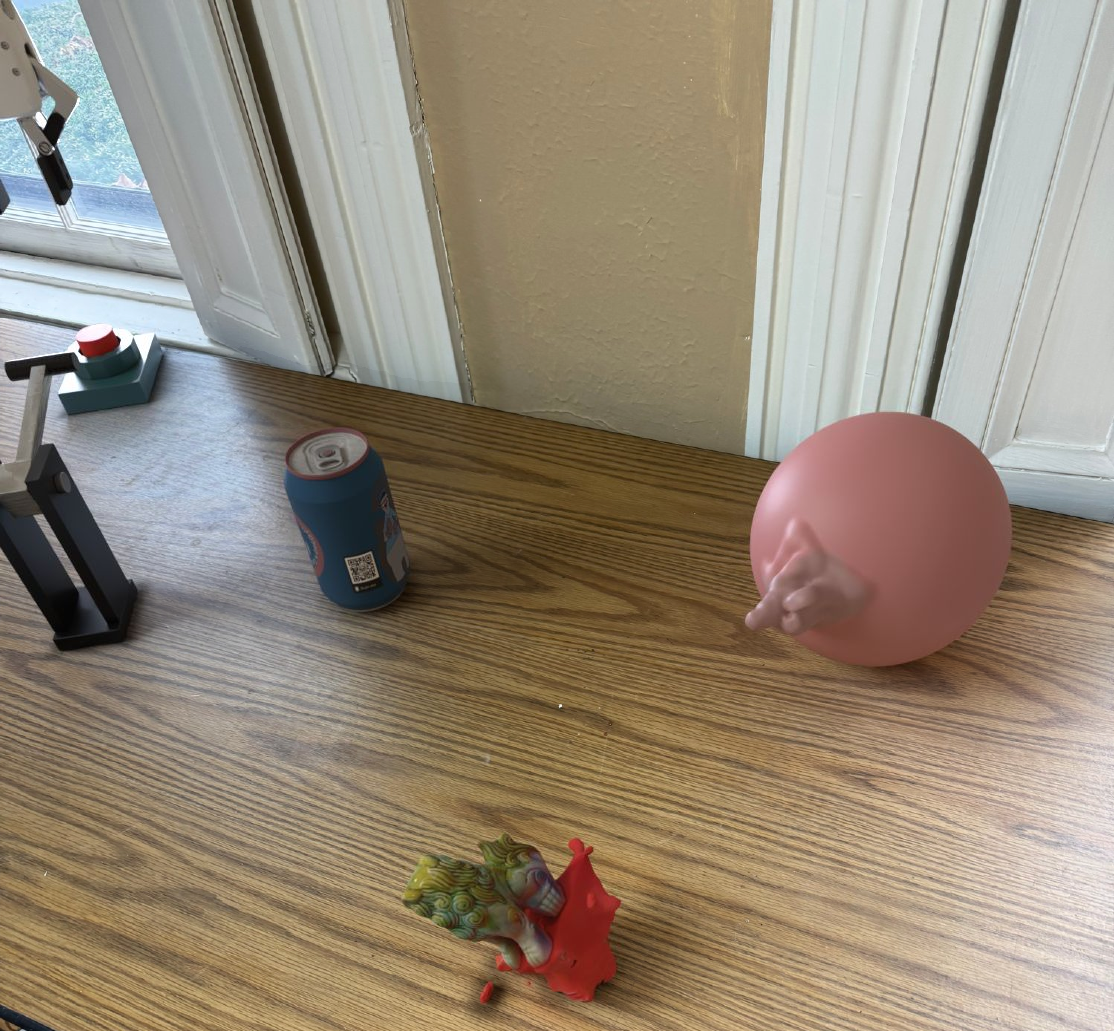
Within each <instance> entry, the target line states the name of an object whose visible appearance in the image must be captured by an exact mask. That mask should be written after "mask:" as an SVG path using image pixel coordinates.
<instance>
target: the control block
mask: <svg viewBox="0 0 1114 1031" xmlns="http://www.w3.org/2000/svg"><path fill="white" fill-rule="evenodd" d="M113 330H114V333H115V335H116V337H117V339H118V342H119V346H118V347H117V348H115V349H114V350H113V351H111V352H108V353H105V354H103V355H99V356H93V357H88V356H84V355H83V353H82V351H81V349H80V347H79V345H78V343H77V341H76V340H75V342H72V344H70V345H69V346H68V348H67V350H66V352H69V351H73V352H75V353H76V355H77V357H78V359H79V362H80V371H79V372H73V373H67V374H64V375H65V376H64V378H63V380H62V382H61V385H60V387H59V389H58V392H57V398H59V400H60V403H61V404H62V406H63V409H64V410H65V412H66V414H67V415H75V414H80V413H86V412H93V411H100V410H106V409H112V408H119V407H126V406H127V407H128V406H133V405H138V404H139V405H140V404H145V403H149V399H150V395H151V393H152V389H153V388H154V387H153V386H154V385H155V384H154V383H155V380H156V377H157V374H158V370H159V367H160V363H161V360H162V357H163V354H164V351H163V349H162V346H161V345H160V342H159V339H158V336H157V335H156V333H155V332H151V333H144V334H137V335H133V334H132V333H131V332H130V331H129V330H127V329H121V328H120V329H119V328H113Z"/></svg>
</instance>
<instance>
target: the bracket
mask: <svg viewBox="0 0 1114 1031" xmlns="http://www.w3.org/2000/svg"><path fill="white" fill-rule="evenodd" d="M0 464H3V461H2V460H1V459H0ZM24 483H25V484H26V486H27V488H28V489H29V491H30V493H31V495H32V496H33V498H34V500H35V501H36V503H37V505H38V507H39V508H40V510H41V512H42V513H43V514H42V515H43V517H44V518H45V520H46V522H47V523H48V526H49V527H50V529H51V530H52V532H53V534H54V536H55V537H56V539H57V541H58V543H59V544H60V546H61V547H62V550H63V552H64V553H65V555H66V556H67V558H68V560H69V562H70V563H71V564H72V568H74V570H75V572H76V573H77V575H78V577H79V578H80V580H81V582H82V583H83V585H82V586H76V585H75V583H74V582H73V580H72V578H71V576H70V575H69V573H68V571H67V570H66V568H65V567H64V565H63V563H62V561H61V560H60V558H59V556H58V555H57V553H56V551H55V550H54V548H53V546H52V545H51V543H50V541H49V540H48V537H47V535H46V534H45V532H44V531H43V529H42V528H41V526H40V525H39V524H40V523H39V522H38V520H37V519H36V518H35V515H32V516H26V517H19V518H13V517H12V515H11V514H10V513H9V512H8V510H7V509H6V508H5V507H4V506H3V504H2V503H1V502H0V549H1V551H2V553H3V554H4V556H5V558H6V559H7V561H8V562H9V564H10V565H11V567H12V568H13V570H14V571H15V574H16V575H17V576H18V578H19V579H20V581H21V582H22V584H23V586H24V587H25V589H26V590H27V592H28V593H29V595H30V596H31V598H32V600H33V601H34V603H35V604H36V606H37V607H38V609H39V611H40V612H41V613H42V616H43V617H44V618H45V620H46V622H47V623H48V625H49V626H50V628H51V629H52V631H53V636H52V642H53V643H54V644H55V646H56V648H57V649H58V651H59V652H62V651H68V650H76V649H81V648H83V649H84V648H88V647H95V646H101V645H108V644H114V643H121V642H122V643H123V642H125V641H126V638H127V634H128V630H129V627H130V622H131V618H132V614H133V611H134V607H135V603H136V599H137V595H138V591H139V589H138V588H137V586H136V584H135V582H134V581H133V579H132V578H127V577H126V574H125V573H124V571H123V570H122V567H121V565H120V564H119V561H118V560H117V558H116V556H115V554H114V553H113V551H112V549H111V547H110V545H109V543H108V541H107V540H106V538H105V536H104V534H103V532H102V530H101V528H100V526H99V524H98V523H97V521H96V519H95V518H94V516H93V514H92V512H91V510H90V508H89V506H88V504H87V502H86V501H85V498H84V497H83V495H82V493H81V491H80V490H79V487H78V486H77V484H76V482H75V480H74V479H73V477H72V475H71V473H70V471H69V470H68V467H67V465H66V463H65V462H64V460H63V458H62V456H61V455H60V453H59V451H58V449H57V447H56V446H55V444H54V443H53V442H49V443H44V444H41V445H39V447H38V450H37V452H36V454H35V457H34V459H33V462H32V464H31V466H30V469H29V471H28V474H27V476H26V478H25V481H24Z"/></svg>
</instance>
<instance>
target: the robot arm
mask: <svg viewBox="0 0 1114 1031" xmlns="http://www.w3.org/2000/svg"><path fill="white" fill-rule="evenodd" d="M49 97H50V98H52V99H53V100H54V107H53V109H52V111H51V112H50V114H49V116H48V117H47V115H46V114H45V113H44V111H43V110H42V108H43V101H45V100H47V99H48V98H49ZM79 102H80V96H79V94H78V92H77V91H75V90H74V89H73V88H72V87H70V86H69V85H68V84H67V83H66V82H64V81H63V80H62V79H61V78H59V76H57V75H56V74H55V73H53V72H52V71H51V70H50V69H48V68H47V67H46V66H45V63H44V62H43V59H42V57H41V55H40V52H39V51H38V49H37V47H36V44H35V43H34V41H33V39H32V37H31V35H30V32H29V31H28V28H27V27H26V24H25V22H24V21H23V19H22V17H21V15H20V13H19V11H18V9H17V7H16V6H15V3H14V2H13V0H0V122H7V121H12V120H16V121H17V123H18V124H19V125H20V127H21V128H22V129H23V131H24V132H25V134H26V135H27V136H28V137H29V139H30V140H31V142H32V143H33V145H34V146H35V147H36V148H35V149H36V150H37V153H38V156H37V157H36V163H37V166H38V168H39V169H40V172H41V174H42V176H43V179H44V180H45V183H46V185H47V187H48V189H49V192H50V194H51V197H52V199H53V201H54V202H55V205H58V206H59V207H62V206H66V205H67V204H68V202H69V200H70V198H71V197H72V195H73V191H72V190H73V189H74V183H73V182H74V181H73V178H72V176H71V174H70V171H69V170H68V167H67V165H66V162H65V160H64V158H63V156H62V153H61V151H60V148H59V146H58V144H59V142H60V139H61V137H62V134H63V132H64V130H65V127H66V124H67V123H68V120H69V119H70V117H71V116H72V114H73V112H74V111H75V109H76V107H77V106H78V105H79ZM10 203H11V198H10V195H9V193H8V191H7V189H6V187H5V185H4V183H3V181H2V179H1V178H0V216H2V215H3V214H4V213H5V211H6V210H7V209H8V207H9V205H10Z"/></svg>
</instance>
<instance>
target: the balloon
mask: <svg viewBox="0 0 1114 1031" xmlns="http://www.w3.org/2000/svg"><path fill="white" fill-rule="evenodd" d="M750 527H751V529H750V539H749V557H750V564H751V571H752V576H753V578H754V582H755V585H756V588H757V591H758V593H759V596H760V597H761V600H760V601H759V602H758V603H757V605H756V606H755V608H754V609H753V610H751V611H749V612H748V613H747V614H746V616H745V619H744V624H745V626H746V627H747V628H748V629H750V631H753V632H756V631H759V630H764V629H771V630H772V631H774V632H776V633H780V634H782V635H787V636H790V637H791V638H792V639H793V640H794V641H796V642H797V643H798V644H800V645H802V646H803V647H804V648H805V649H808V650H809V651H811V652H813V653H815V654H817V655H818V656H820V657H823V658H826V659H828V660H832V661H834V662H838V663H842V664H846V665H852V666H858V667H873V668H874V667H876V668H877V667H889V666H895V665H896V666H897V665H903V664H906V663H911V662H913V661H916V660H920V659H923V658H925V657H927V656H929V655H932V654H934V653H936V652H938V651H940V650H941V649H943V648H945V647H946V646H948V645H950V644H951V643H953V642H954V641H956V640H957V639H958V638H960V637H961V636H962V635H964V634H965V633H966V632H967V631H968V630H969V629H970V628H971V627H972V626H973V625H974V624H975V623H976V622H977V621H978V620H979V619H980V617H981V616H982V615H983V614H984V613H985V611H986V610H987V609H988V607H990V604H992V601H993V600H994V598H995V596H996V595H997V593H998V591H999V589H1000V587H1001V584H1002V582H1003V580H1004V578H1005V574H1006V572H1007V568H1008V565H1009V561H1010V557H1011V553H1012V552H1011V551H1012V543H1013V520H1012V513H1011V508H1010V503H1009V499H1008V496H1007V492H1006V489H1005V486H1004V485H1003V482H1002V480H1001V478H1000V476H999V474H998V472H997V471H996V469H995V467H994V466H993V465H992V463H991V462H990V460H989V459H988V457H987V456H986V455H985V453H983V451H982V450H981V449H980V448H979V447H978V446H976V444H975V443H974V442H972V441H971V440H970V439H969V438H968V437H966V436H965V435H964V434H962V433H960V431H958V430H956V429H954V428H953V427H951V426H949V425H948V424H946V423H943V422H941V421H939V420H936V419H934V418H932V417H931V418H930V417H927V416H924V415H920V414H915V413H910V412H905V411H904V412H903V411H874V412H866V413H861V414H857V415H853V416H850V417H846V418H844V419H840V420H837V421H834V422H832V423H830V424H829V425H827V426H825V427H823V428H821V429H819V430H817V431H816V432H814V433H812V434H811V435H809V436H808V437H806V438H805V439H803V441H801V442H800V443H799V444H798V445H797V446H796V447H794V448H793V449H792V450H791V451H790V452H789V453H788V454H787V455H786V456H785V457H784V459H782V460H781V461H780V463H779V464H778V466H776V468H775V469H774V471H773V472H772V474H771V476H770V477H769V479H768V480H767V482H766V484H765V486H764V487H763V490H762V492H761V494H760V496H759V498H758V501H757V504H756V507H755V510H754V514H753V518H752V521H751V526H750Z"/></svg>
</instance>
